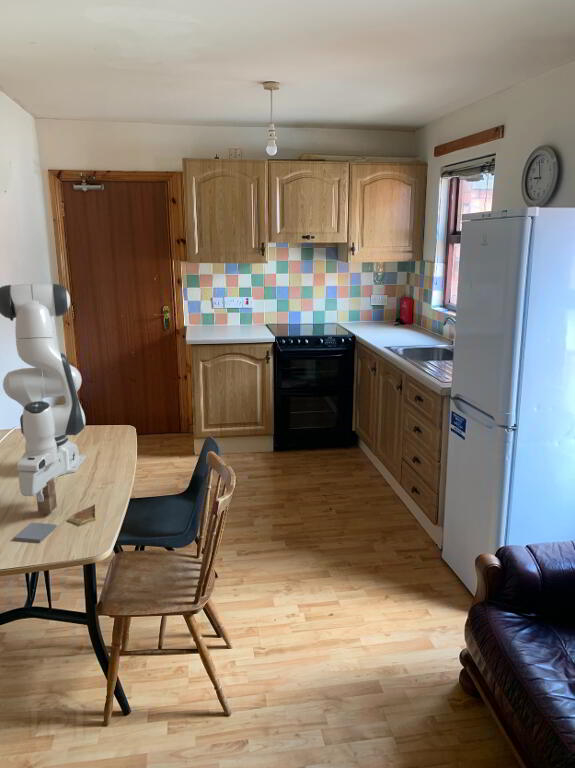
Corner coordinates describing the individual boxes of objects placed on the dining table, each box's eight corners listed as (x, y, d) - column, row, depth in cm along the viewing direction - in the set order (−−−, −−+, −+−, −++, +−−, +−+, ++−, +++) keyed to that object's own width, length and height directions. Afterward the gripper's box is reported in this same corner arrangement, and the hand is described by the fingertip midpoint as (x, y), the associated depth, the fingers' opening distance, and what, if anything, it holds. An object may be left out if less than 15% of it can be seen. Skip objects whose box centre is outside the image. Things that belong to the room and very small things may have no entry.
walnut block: (44, 505, 184) (41, 476, 182) (56, 506, 184) (54, 477, 182) (38, 511, 181) (34, 481, 178) (50, 512, 180) (47, 482, 178)
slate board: (31, 522, 175) (13, 537, 166) (56, 524, 174) (40, 539, 165) (31, 527, 175) (14, 542, 167) (56, 529, 174) (40, 544, 166)
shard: (95, 508, 188) (94, 503, 187) (112, 514, 184) (111, 508, 183) (67, 522, 179) (66, 516, 178) (84, 528, 175) (84, 522, 174)
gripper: (49, 443, 188) (53, 482, 192) (13, 467, 169) (18, 511, 172) (68, 444, 187) (71, 483, 191) (33, 468, 168) (38, 512, 171)
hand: (46, 497), depth 181 cm, fingers closed on walnut block, 4 cm apart
